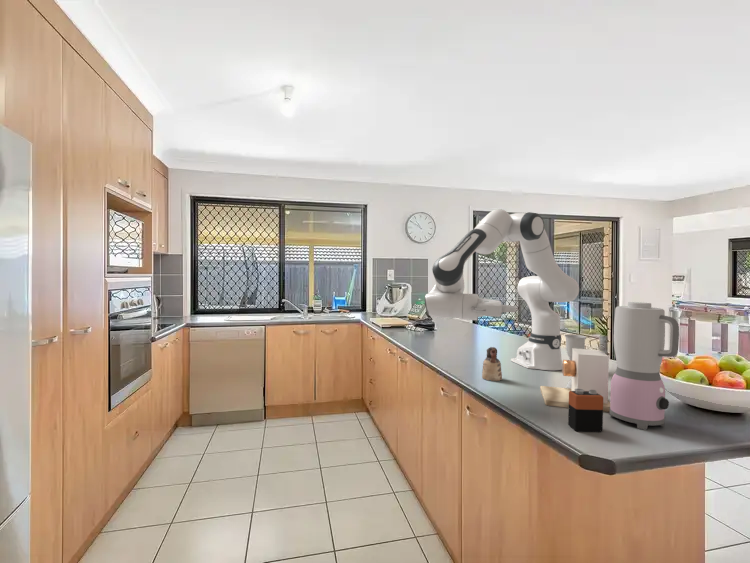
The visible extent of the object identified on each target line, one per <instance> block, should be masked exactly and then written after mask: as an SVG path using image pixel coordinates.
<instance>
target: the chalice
mask: <svg viewBox="0 0 750 563" xmlns="http://www.w3.org/2000/svg"><path fill="white" fill-rule="evenodd" d="M564 337H565V351H566V353H567V354H566V355H567V356H568V358H569V359H568V360H572V348H576V349H586V347H585V346H586V345H585V344H586V339H587V336H584V335H580V334H564ZM571 387H572V379H569V380H568V382H567V384H566V385H565V388H569V389H571Z"/></svg>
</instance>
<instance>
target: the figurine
mask: <svg viewBox="0 0 750 563" xmlns="http://www.w3.org/2000/svg"><path fill="white" fill-rule="evenodd" d="M481 373H482V374H481V377H482V379H483V380H485V379H486V380H485V381H489V380H491V381H490V382H500V380H501V381H502V379H503V372H502V364H501V361H500V360H499V359H498V350H497V348H496V347H494V346H490V347H488V348H487V349H486V357H485V359H484V360H483V363H482V370H481Z"/></svg>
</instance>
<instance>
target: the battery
mask: <svg viewBox="0 0 750 563" xmlns="http://www.w3.org/2000/svg"><path fill="white" fill-rule="evenodd" d="M567 414H568V416H567V417H568V418H567V419H568V420H567V421H568V422H567V424H568V425H567V426H569V427H570V428H571V429H572V430H575V431H576V432H582V433H583V432H585V433H586V432H589V433H593V432H594V433H601V432H603V428H604V426H603V425H604V424H603V423H604V422H603V421H604V411H603V396H601V395H600V394H598V393H596V390H590V391H584V390H583V389H575V391H569V408H568V412H567Z"/></svg>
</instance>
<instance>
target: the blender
mask: <svg viewBox="0 0 750 563" xmlns="http://www.w3.org/2000/svg"><path fill="white" fill-rule="evenodd" d="M666 324H668V325H669V327H670V329H669V330H670V332H669V333H670V335H669V349H665V344H666ZM679 343H680V325H679V322H678V321H677V320H676V318H674V317H671V316H669V315H666V313H665V309H664V308H661V307H652V303H651V302H644V301H643V302H642V301H641V302H640V301H639V302H638V301H628V303H627V306H626V305H621V306H616V307H615V310H614V320H613V347H614V353H615V360H616V369H615V372H614V374H613V376H612V377H611V380H610V399H609V400H610V401H609V402H610V412H609V417H610V418H612V419H613V418H616V419H619V420H622V421H625V422H627V423H631V424H636V428H637V429H639V430H648V426H660V427H662V428H664V427H665V418H666V417H665V412H666V410H667V409H668V408H669V407H670V406H669V405H670V402H669V399H667V398H666V387H665V383H664V382H663V380H662V378H661V375H660V370H661V366H662V363H663V362H662V360H663V357H665V358H672V357H676V356H677V355H678V352H679V345H680V344H679Z"/></svg>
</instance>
